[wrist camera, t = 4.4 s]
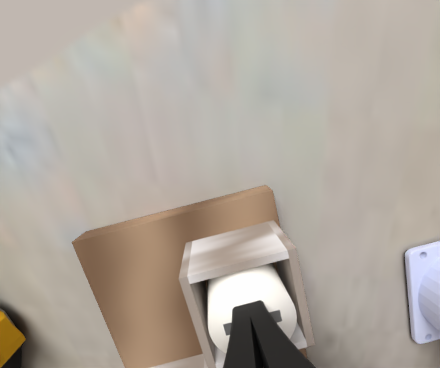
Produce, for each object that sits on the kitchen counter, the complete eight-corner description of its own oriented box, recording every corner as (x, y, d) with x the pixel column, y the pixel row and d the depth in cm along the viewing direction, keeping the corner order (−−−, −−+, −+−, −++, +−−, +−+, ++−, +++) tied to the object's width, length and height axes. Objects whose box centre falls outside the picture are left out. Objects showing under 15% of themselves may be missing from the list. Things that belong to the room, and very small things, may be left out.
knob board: (265, 185, 15) (295, 208, 10) (308, 385, 18) (346, 477, 13) (85, 231, 14) (23, 279, 10) (163, 423, 18) (147, 530, 13)
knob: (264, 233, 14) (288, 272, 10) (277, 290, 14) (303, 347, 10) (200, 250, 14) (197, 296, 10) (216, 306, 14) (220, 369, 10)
